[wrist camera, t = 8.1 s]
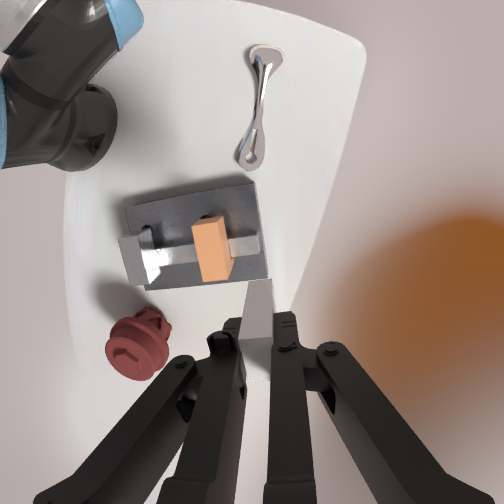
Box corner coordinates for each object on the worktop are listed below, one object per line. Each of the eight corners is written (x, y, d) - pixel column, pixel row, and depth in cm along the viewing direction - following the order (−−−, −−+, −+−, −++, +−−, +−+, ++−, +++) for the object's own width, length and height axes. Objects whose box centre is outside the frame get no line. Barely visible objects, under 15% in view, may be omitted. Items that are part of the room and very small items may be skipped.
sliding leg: (203, 216, 36) (191, 226, 30) (225, 213, 36) (217, 222, 30) (213, 264, 38) (203, 282, 32) (234, 262, 38) (227, 279, 32)
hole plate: (133, 205, 40) (124, 208, 37) (255, 182, 38) (253, 184, 35) (152, 283, 43) (145, 290, 40) (268, 270, 41) (267, 278, 38)
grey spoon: (265, 173, 34) (228, 168, 34) (265, 174, 37) (232, 169, 37) (286, 39, 29) (252, 35, 29) (285, 50, 32) (253, 46, 32)
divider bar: (132, 229, 38) (111, 240, 32) (253, 209, 36) (250, 217, 30) (142, 270, 40) (124, 286, 34) (261, 256, 38) (259, 272, 32)
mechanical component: (146, 348, 48) (121, 304, 45) (190, 340, 46) (165, 291, 44) (119, 390, 36) (85, 341, 34) (169, 387, 34) (134, 331, 32)
